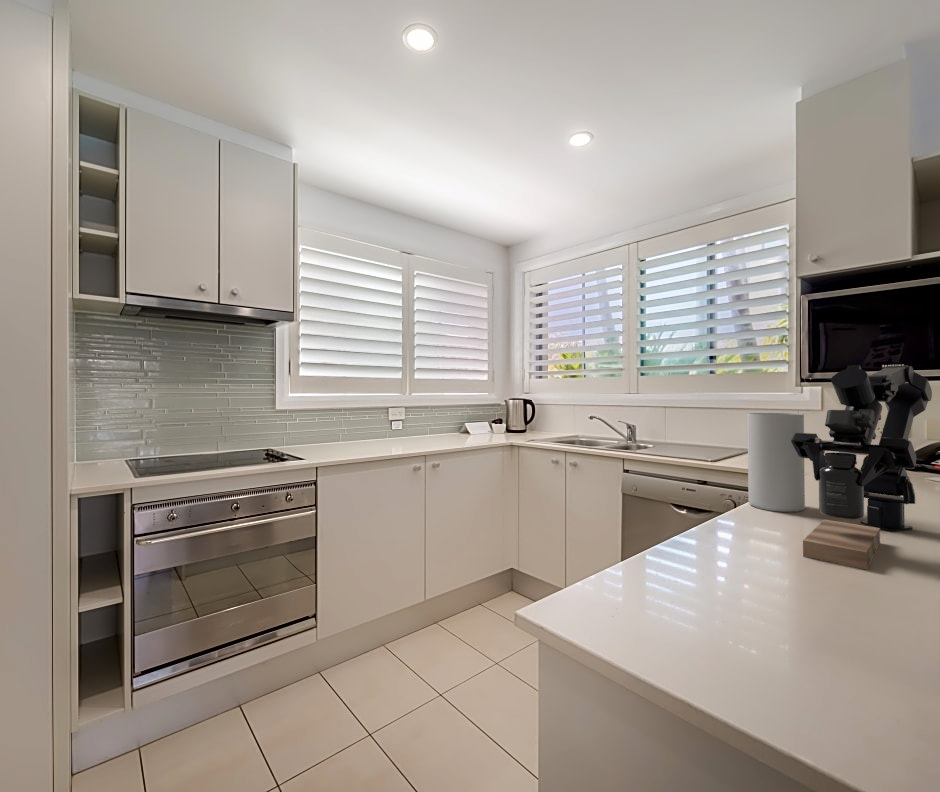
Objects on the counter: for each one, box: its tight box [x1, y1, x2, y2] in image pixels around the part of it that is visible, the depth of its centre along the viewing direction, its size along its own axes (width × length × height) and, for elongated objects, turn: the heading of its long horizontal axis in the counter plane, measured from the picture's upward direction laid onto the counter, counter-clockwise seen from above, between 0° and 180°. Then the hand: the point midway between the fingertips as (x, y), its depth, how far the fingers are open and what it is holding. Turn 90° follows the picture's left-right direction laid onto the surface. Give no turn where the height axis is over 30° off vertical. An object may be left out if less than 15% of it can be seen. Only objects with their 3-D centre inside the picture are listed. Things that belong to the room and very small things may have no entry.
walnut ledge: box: [802, 519, 881, 570], centre depth 88 cm, size 20×9×3 cm, turn 133°
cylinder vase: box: [747, 412, 806, 513], centre depth 122 cm, size 12×12×25 cm
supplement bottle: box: [818, 452, 865, 520], centre depth 89 cm, size 7×7×12 cm
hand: (837, 482), depth 88 cm, fingers closed on supplement bottle, 7 cm apart
